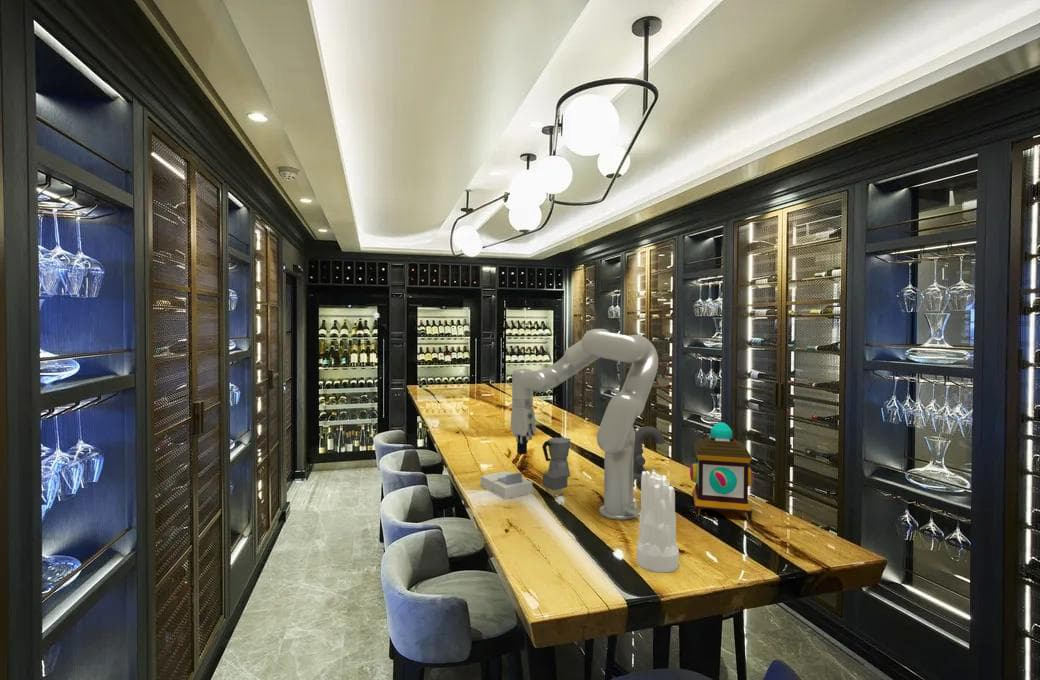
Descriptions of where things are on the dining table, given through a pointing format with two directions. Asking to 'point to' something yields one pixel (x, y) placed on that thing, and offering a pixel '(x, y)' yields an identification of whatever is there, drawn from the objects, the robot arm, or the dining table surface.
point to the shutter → (512, 478)
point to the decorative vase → (657, 525)
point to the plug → (555, 482)
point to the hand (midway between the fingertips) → (521, 453)
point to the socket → (505, 485)
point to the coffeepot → (557, 454)
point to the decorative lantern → (721, 473)
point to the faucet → (638, 450)
